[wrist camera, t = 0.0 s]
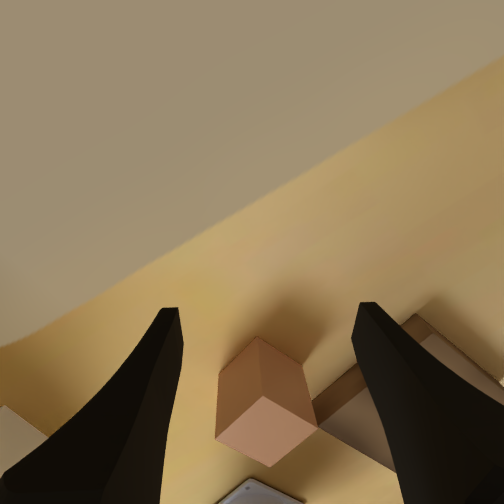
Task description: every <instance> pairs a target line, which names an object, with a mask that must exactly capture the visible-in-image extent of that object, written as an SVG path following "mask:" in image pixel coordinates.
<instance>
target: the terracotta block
mask: <svg viewBox="0 0 504 504" xmlns="http://www.w3.org/2000/svg"><path fill="white" fill-rule="evenodd" d="M317 429H318V426H317V422H316V418H315V414H314V410H313V406H312V402H311V398H310V395H309V391H308V387H307V383H306V379H305V375H304V371H303V368H302V366H301V365H300V364H298V363H297V362H295V361H294V360H292V359H291V358H289V357H288V356H286V355H285V354H283V353H282V352H280V351H278V350H277V349H275V348H274V347H272V346H271V345H269V344H268V343H266V342H265V341H263V340H262V339H260V338H259V337H256V338H255V339H254V340H253V341H252V342H251V343H250V344H249V345H248V346H247V347H246V348H245V349H244V350H243V351H242V352H241V353H240V354H239V355H238V356H237V357H236V358H235V359H234V360H233V361H232V362H231V363H230V364H229V365H228V366H227V367H226V368H225V369H224V370H223V371H222V372H221V373H220V374H219V378H218V395H217V412H216V429H215V440H217V441H219V442H221V443H223V444H225V445H227V446H229V447H231V448H233V449H235V450H237V451H239V452H241V453H242V454H244V455H246V456H248V457H250V458H252V459H254V460H256V461H258V462H260V463H262V464H264V465H266V466H268V467H271V466H273V465H274V464H275V463H276V462H278V461H279V460H280V459H281V458H283V457H284V456H285V455H286V454H287V453H289V452H290V451H291V450H292V449H294V448H295V447H296V446H297V445H299V444H300V443H301V442H302V441H303V440H305V439H306V438H307V437H308V436H310V435H311V434H312V433H313V432H315V431H316V430H317Z"/></svg>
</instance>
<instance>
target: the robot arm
mask: <svg viewBox="0 0 504 504" xmlns="http://www.w3.org/2000/svg"><path fill="white" fill-rule="evenodd" d="M351 339H352V343H353V347H354V351H355V355H356V359H357V362H358V365H359V367H360V370H361V372H362V375H363V377H364V380H365V382H366V385H367V387H368V390H369V392H370V395H371V397H372V399H373V402H374V404H375V407H376V409H377V412H378V414H379V417H380V420H381V422H382V425H383V428H384V432H385V435H386V438H387V442H388V445H389V448H390V452H391V455H392V459H393V463H394V466H395V470H396V474H397V477H398V481H399V485H400V489H401V493H402V497H403V501H404V504H504V405H502V404H501V403H499V402H498V401H496V400H494V399H493V398H491V397H490V396H488V395H487V394H485V393H483V392H482V391H480V390H479V389H477V388H476V387H474V386H473V385H471V384H470V383H468V382H467V381H466V380H464V379H463V378H461V377H460V376H459V375H457V374H456V373H455V372H453V371H452V370H451V369H449V368H448V367H447V366H445V365H444V364H443V363H441V362H440V361H439V360H438V359H437V358H435V357H434V356H433V355H432V354H431V353H429V352H428V351H427V350H426V349H425V348H423V347H422V346H421V345H420V344H419V343H418V342H417V341H416V340H414V339H413V338H412V337H411V336H410V335H409V334H408V333H407V332H406V331H405V330H404V329H403V328H402V327H400V326H399V325H398V324H397V323H396V322H395V321H394V320H393V319H392V318H391V317H390V316H389V315H388V314H387V313H386V312H385V311H384V310H383V309H382V308H381V307H380V306H379V305H378V304H377V303H376V302H360V304H359V308H358V312H357V316H356V320H355V325H354V329H353V333H352V337H351ZM183 345H184V342H183V336H182V330H181V323H180V317H179V310H178V307H174V308H162V309H160V311H159V312H158V314H157V316H156V317H155V319H154V321H153V322H152V324H151V325H150V327H149V328H148V330H147V331H146V333H145V334H144V336H143V337H142V339H141V340H140V342H139V343H138V344H137V346H136V347H135V349H134V350H133V351H132V353H131V354H130V355H129V356H128V358H127V359H126V360H125V362H124V363H123V364H122V365H121V367H120V368H119V369H118V370H117V372H116V373H115V374H114V375H113V376H112V377H111V379H110V380H109V381H108V382H107V383H106V384H105V385H104V386H103V387H102V388H101V389H100V391H99V392H98V393H97V394H96V395H95V396H94V397H93V398H92V399H91V400H90V401H89V402H88V403H87V404H86V405H85V406H84V407H83V408H82V409H81V410H80V411H79V412H78V413H76V414H75V415H74V416H73V417H72V418H71V419H70V420H69V421H68V422H66V423H65V424H64V425H63V426H62V427H61V428H60V429H58V430H57V431H56V432H55V433H54V434H53V435H51V436H50V437H49V438H48V439H47V440H46V441H44V442H43V443H42V444H41V445H39V446H38V447H37V448H36V449H34V450H33V451H32V452H30V453H29V454H28V455H26V456H25V457H24V458H22V459H21V460H20V461H19V462H17V463H16V464H15V465H13V466H12V467H11V468H9V469H8V470H6V471H5V472H4V473H3V475H2V477H1V478H0V504H160V493H161V484H162V475H163V466H164V458H165V449H166V441H167V434H168V428H169V423H170V418H171V414H172V409H173V404H174V400H175V395H176V391H177V386H178V381H179V377H180V372H181V366H182V356H183ZM218 504H304V503H301V502H299V501H297V500H295V499H293V498H291V497H289V496H287V495H285V494H283V493H281V492H279V491H277V490H275V489H273V488H271V487H269V486H267V485H265V484H262V483H260V482H258V481H256V480H254V479H248V480H246V481H245V482H244V483H243V484H242V485H240V486H239V487H238V488H237V489H235V490H234V491H233V492H232V493H231V494H229V495H228V496H227V497H226V498H224V499H223V500H222V501H221V502H220V503H218Z"/></svg>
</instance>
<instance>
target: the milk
mask: <svg viewBox="0 0 504 504" xmlns="http://www.w3.org/2000/svg"><path fill="white" fill-rule="evenodd" d="M47 439H48V437H47V436H46V435H44V434H43V433H42V432H40V431H39V430H38V429H36V428H35V427H34V426H32V425H31V424H30V423H28V422H27V421H26V420H24V419H23V418H22V417H20V416H19V415H18V414H16V413H15V412H14V411H12V410H11V409H10V408H8V407H7V406H6V405H4V406H2V407H0V478H1V477H2V475H3V473H4V472H5V471H6V470H8V469H9V468H11V467H12V466H13V465H15V464H16V463H17V462H19V461H20V460H21V459H22V458H24V457H25V456H26V455H28V454H29V453H30V452H32V451H33V450H34V449H36V448H37V447H38V446H39V445H41V444H42V443H43V442H44V441H46V440H47Z"/></svg>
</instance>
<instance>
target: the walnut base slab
mask: <svg viewBox="0 0 504 504" xmlns="http://www.w3.org/2000/svg"><path fill="white" fill-rule="evenodd" d="M400 327H402V328H403V329H404V330H405V331H406V332H407V333H408V334H409V335H410V336H411V337H412V338H413V339H414V340H416V341H417V342H418V343H419V344H420V345H421V346H422V347H423V348H425V349H426V350H427V351H428V352H429V353H431V354H432V355H433V356H434V357H435V358H437V359H438V360H439V361H440V362H441V363H443V364H444V365H445V366H447V367H448V368H449V369H451V370H452V371H453V372H455V373H456V374H457V375H459V376H460V377H461V378H463V379H464V380H466V381H467V382H468V383H470V384H471V385H473V386H474V387H476V388H477V389H479V390H480V391H482V392H483V393H485V394H487V395H488V396H490V397H491V398H493V399H494V400H496V401H498V402H499V403H501V404H502V405H504V387H503V386H502V385H501V384H500V383H499V382H498V381H497V380H495V379H494V378H493V377H492V376H491V375H489V374H488V373H487V372H486V371H485V370H483V369H482V368H481V367H480V366H479V365H477V364H476V363H475V362H474V361H473V360H471V359H470V358H469V357H468V356H467V355H465V354H464V353H463V352H462V351H461V350H459V349H458V348H457V347H456V346H455V345H453V344H452V343H451V342H450V341H449V340H447V339H446V338H445V337H444V336H443V335H441V334H440V333H439V332H438V331H437V330H435V329H434V328H433V327H432V326H431V325H429V324H428V323H427V322H426V321H425V320H423V319H422V318H421V317H420V316H419V315H417V314H414V315H413V316H412V317H411V318H410V319H408V320H407V321H406V322H405V323H404V324H403V325H401V326H400ZM312 406H313V410H314V414H315V418H316V422H317V426H318V427H319V428H321V429H322V430H324V431H326V432H328V433H329V434H331V435H333V436H334V437H336V438H338V439H339V440H341V441H343V442H344V443H346V444H348V445H350V446H351V447H353V448H355V449H356V450H358V451H360V452H361V453H363V454H365V455H366V456H368V457H370V458H372V459H373V460H375V461H377V462H378V463H380V464H382V465H383V466H385V467H387V468H388V469H390V470H392V471H394V472H395V473H396V470H395V466H394V463H393V459H392V455H391V452H390V448H389V445H388V442H387V438H386V435H385V432H384V428H383V425H382V422H381V420H380V417H379V414H378V412H377V409H376V407H375V404H374V402H373V399H372V397H371V395H370V392H369V390H368V387H367V385H366V382H365V380H364V377H363V375H362V372H361V370H360V367H359V365H358V363H357V364H355V365H354V366H353V367H352V368H351V369H350V370H348V371H347V372H346V373H345V374H344V375H343V376H341V377H340V378H339V379H338V380H337V381H335V382H334V383H333V384H332V385H331V386H330V387H328V388H327V389H326V390H325V391H324V392H323V393H321V394H320V395H319V396H318V397H317V398H315V399H314V400H313V401H312Z"/></svg>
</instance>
